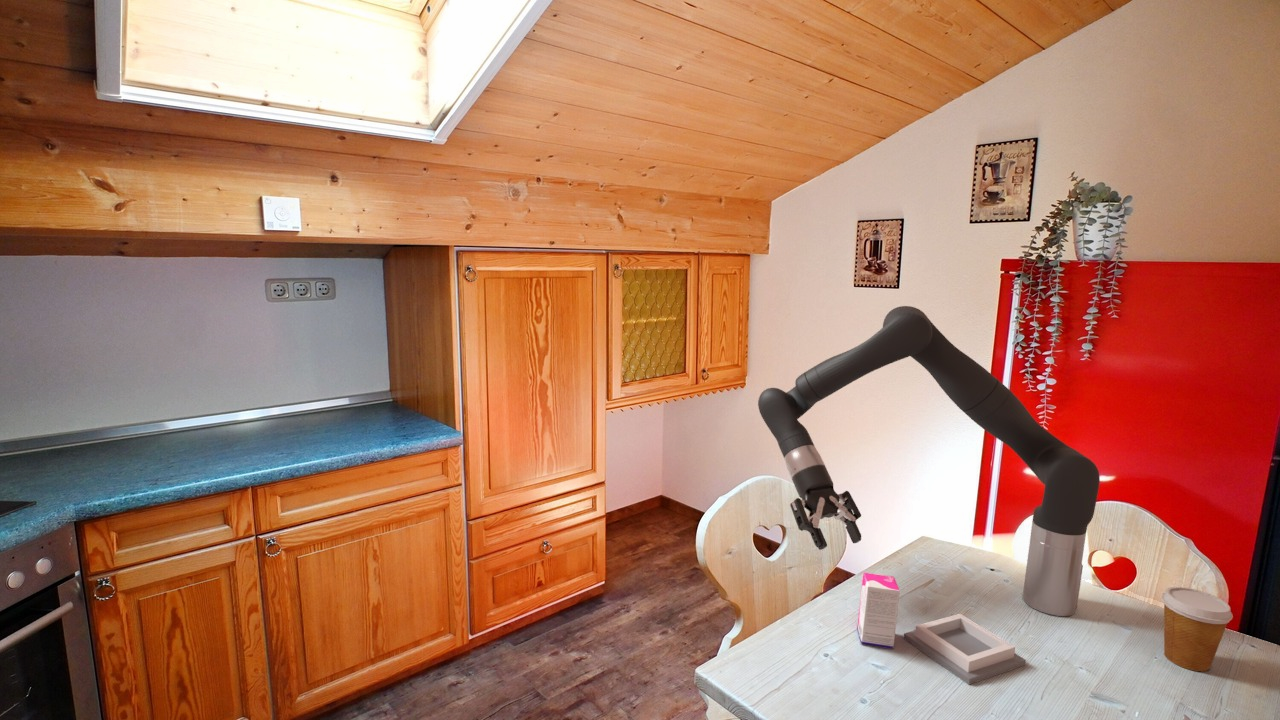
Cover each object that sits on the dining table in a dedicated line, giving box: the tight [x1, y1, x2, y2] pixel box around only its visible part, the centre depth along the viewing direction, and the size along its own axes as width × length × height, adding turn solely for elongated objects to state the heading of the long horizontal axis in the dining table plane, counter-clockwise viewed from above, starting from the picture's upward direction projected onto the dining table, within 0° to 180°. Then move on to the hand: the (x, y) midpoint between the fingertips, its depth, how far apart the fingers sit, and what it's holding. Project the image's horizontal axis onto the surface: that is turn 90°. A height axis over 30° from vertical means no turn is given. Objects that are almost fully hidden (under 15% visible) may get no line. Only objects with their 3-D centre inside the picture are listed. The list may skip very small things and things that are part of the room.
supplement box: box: [856, 572, 901, 650], centre depth 117 cm, size 6×6×12 cm
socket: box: [903, 613, 1026, 685], centre depth 115 cm, size 14×14×3 cm
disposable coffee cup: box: [1161, 586, 1234, 673], centre depth 113 cm, size 10×10×12 cm
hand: (840, 545), depth 126 cm, fingers open, 8 cm apart
